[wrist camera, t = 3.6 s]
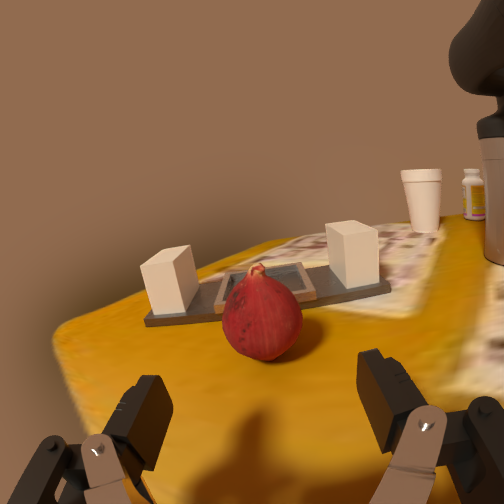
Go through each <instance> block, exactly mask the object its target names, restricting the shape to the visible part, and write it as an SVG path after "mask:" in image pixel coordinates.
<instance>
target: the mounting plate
mask: <svg viewBox="0 0 504 504" xmlns="http://www.w3.org/2000/svg"><path fill="white" fill-rule="evenodd" d="M247 272H248V270H245V271H238V272H231V273H225V275H224V278H223V281H221V282H214V283H206V284H199V289H198V290H197V292H196V294H195V296H194V298H193V299H192V301H191V303H190V305H189V307H188V309H187V310H186V312H182V313H171V314H160V315H154V313H153V310H151V311H150V312H149V313H148V315H147V316H146V317H145V318H144V322H145V325H146V327H154V326H168V325H180V324H191V323H202V322H212V321H221V320H222V317H223V311H224V307H225V303H226V300H227V298H228V296H229V294H230V292H231V291H232V289H233V288H234V287H235V286H236V285H237V284H238V283H239V282H240V281H241V280H242V279H243V278H244V277H245V275H246V274H247ZM265 274H266V275H267V276H269V277H271V278H273V279H275V280H277V281H279V282H281V283H282V284H284V285H285V286H286V287H287V288H288V289H289V290H290V291H291V292H292V293H293V294H294V296H295V298H296V300H297V302H298V304H299V306H300V308H301V309H307V308H313V307H319V306H324V305H330V304H335V303H341V302H346V301H351V300H356V299H361V298H366V297H371V296H375V295H380V294H385V293H389V292H390V283H389V282H388V281H386V280H385V279H384V278H383V277H381V276H380V275H379V283H375V284H370V285H365V286H359V287H354V288H349V289H346V287H345V286H344V285H343V284H342V282H341V281H340V280H339V279H338V277H337V276H336V275H335V274H334V272H333V271H332V270H331V269H330V267H329V265H327V266H321V267H315V268H308V269H304V267H303V265H302V263H301V262H298V263H291V264H285V265H278V266H272V267H265Z"/></svg>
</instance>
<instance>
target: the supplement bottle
mask: <svg viewBox="0 0 504 504" xmlns="http://www.w3.org/2000/svg"><path fill="white" fill-rule="evenodd" d="M464 174H465V179H463V181H462V189H463V206H464V218H465V219H468V220H475V221H479V220H484V219H485V192H484V182H483V180H482V179H480V177H479V174H480V172H479V169H464Z"/></svg>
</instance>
